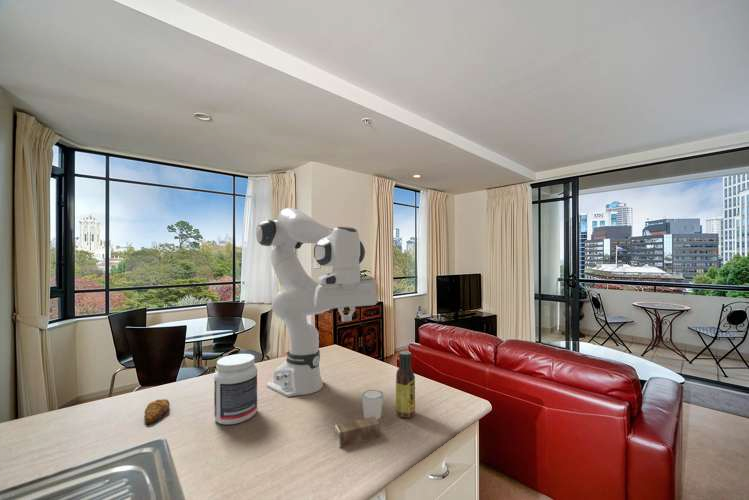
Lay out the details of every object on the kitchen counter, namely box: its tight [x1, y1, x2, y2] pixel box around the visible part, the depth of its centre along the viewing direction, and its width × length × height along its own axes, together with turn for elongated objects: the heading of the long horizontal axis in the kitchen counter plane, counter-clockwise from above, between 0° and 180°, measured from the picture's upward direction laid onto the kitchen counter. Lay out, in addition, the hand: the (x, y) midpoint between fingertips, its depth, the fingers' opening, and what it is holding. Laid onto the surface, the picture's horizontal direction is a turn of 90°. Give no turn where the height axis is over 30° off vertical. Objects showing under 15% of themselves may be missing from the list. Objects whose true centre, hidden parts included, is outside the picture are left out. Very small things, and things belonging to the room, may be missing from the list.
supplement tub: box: [213, 353, 258, 425], centre depth 100 cm, size 13×13×18 cm
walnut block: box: [334, 417, 381, 448], centre depth 88 cm, size 4×4×12 cm
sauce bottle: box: [395, 350, 416, 419], centre depth 101 cm, size 6×6×20 cm
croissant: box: [144, 398, 171, 425], centre depth 101 cm, size 14×7×5 cm, turn 16°
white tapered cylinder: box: [361, 389, 384, 421], centre depth 100 cm, size 7×7×7 cm
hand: (346, 321), depth 98 cm, fingers closed
